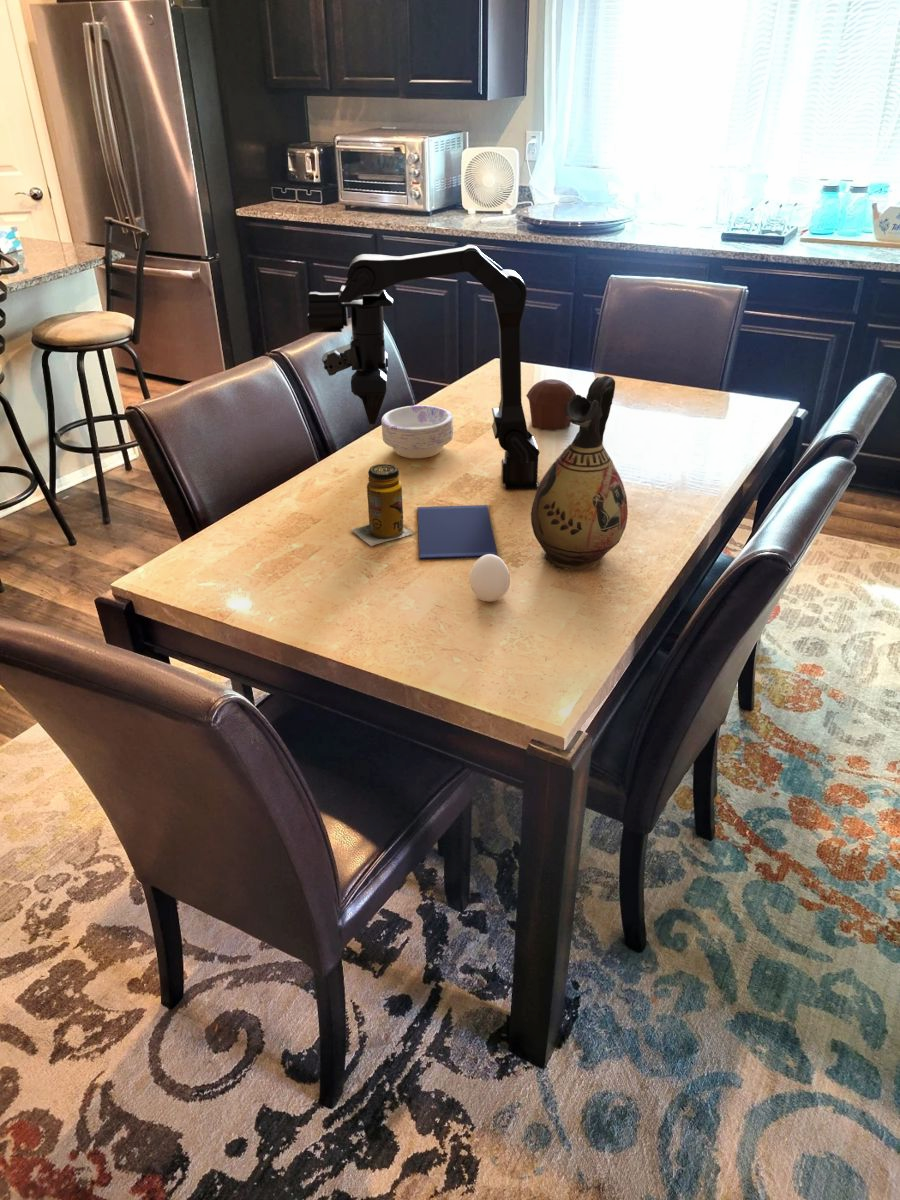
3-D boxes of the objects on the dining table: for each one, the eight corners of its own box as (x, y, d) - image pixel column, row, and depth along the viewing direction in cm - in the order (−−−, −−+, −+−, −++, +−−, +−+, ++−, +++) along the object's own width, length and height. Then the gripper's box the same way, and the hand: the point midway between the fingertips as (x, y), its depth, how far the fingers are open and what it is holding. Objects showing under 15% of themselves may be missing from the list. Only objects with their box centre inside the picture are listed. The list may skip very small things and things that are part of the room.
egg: (474, 611, 128) (474, 567, 124) (465, 591, 133) (465, 548, 129) (513, 607, 129) (515, 563, 125) (503, 587, 134) (504, 544, 130)
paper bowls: (371, 459, 181) (368, 423, 177) (401, 435, 193) (399, 401, 189) (437, 468, 176) (436, 431, 172) (463, 443, 188) (463, 408, 184)
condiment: (413, 534, 150) (410, 470, 144) (371, 546, 146) (366, 482, 140) (392, 519, 155) (389, 457, 149) (351, 531, 151) (346, 468, 145)
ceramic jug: (600, 590, 133) (617, 402, 117) (513, 565, 140) (518, 386, 124) (640, 546, 145) (660, 372, 129) (558, 526, 152) (568, 358, 137)
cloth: (487, 506, 159) (487, 504, 159) (497, 557, 142) (497, 555, 142) (417, 509, 159) (417, 507, 159) (419, 559, 142) (419, 557, 142)
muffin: (583, 421, 199) (586, 379, 194) (562, 435, 191) (565, 392, 186) (538, 413, 205) (540, 371, 200) (516, 426, 197) (517, 383, 192)
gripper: (326, 320, 160) (333, 401, 168) (318, 345, 144) (326, 434, 152) (386, 318, 160) (390, 399, 168) (384, 344, 144) (388, 432, 152)
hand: (373, 415), depth 160 cm, fingers open, 9 cm apart
